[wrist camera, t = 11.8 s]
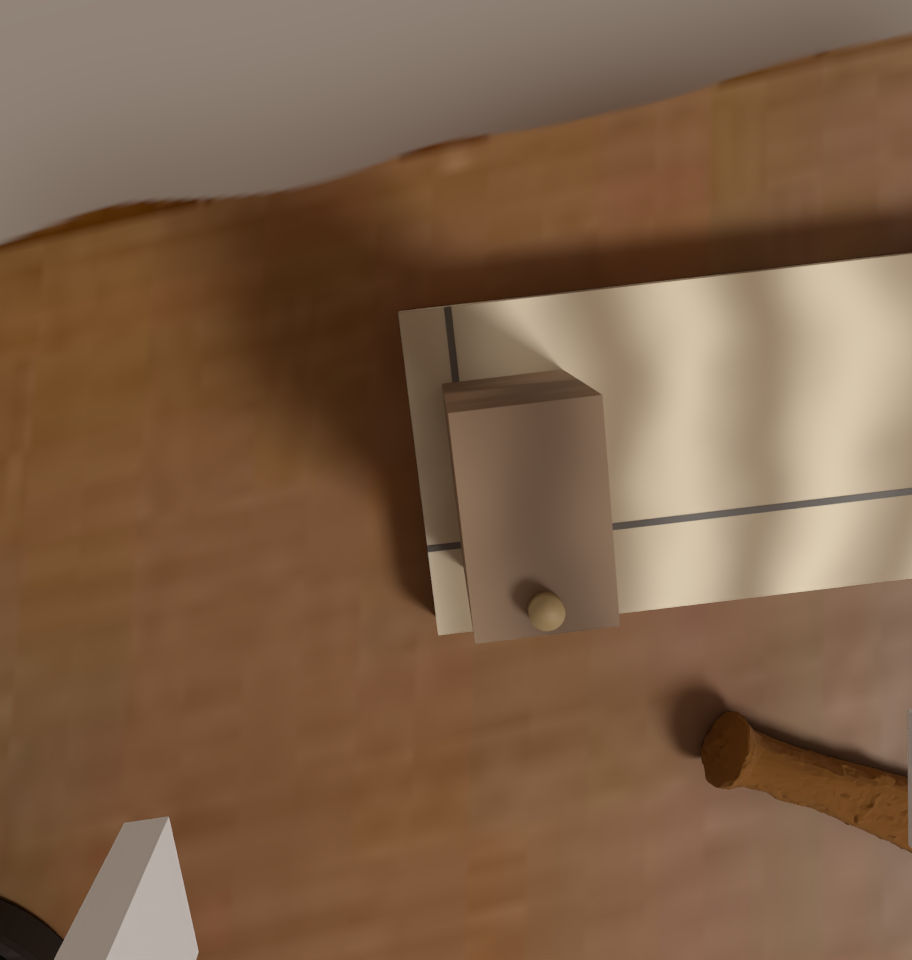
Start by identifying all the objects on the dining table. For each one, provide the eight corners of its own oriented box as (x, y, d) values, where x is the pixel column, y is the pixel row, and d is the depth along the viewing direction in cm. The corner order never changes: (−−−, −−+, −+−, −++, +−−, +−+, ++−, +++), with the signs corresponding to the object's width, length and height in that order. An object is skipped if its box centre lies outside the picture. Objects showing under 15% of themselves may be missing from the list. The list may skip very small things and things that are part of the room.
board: (437, 618, 40) (438, 635, 38) (399, 311, 37) (398, 313, 35) (1034, 546, 40) (1065, 560, 38) (1047, 236, 37) (1083, 234, 35)
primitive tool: (1056, 808, 44) (1109, 852, 41) (1005, 896, 45) (1052, 947, 42) (715, 693, 42) (741, 729, 39) (671, 788, 43) (692, 832, 40)
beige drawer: (463, 567, 37) (476, 651, 29) (441, 383, 36) (448, 415, 27) (578, 553, 37) (624, 632, 29) (562, 369, 36) (606, 397, 27)
